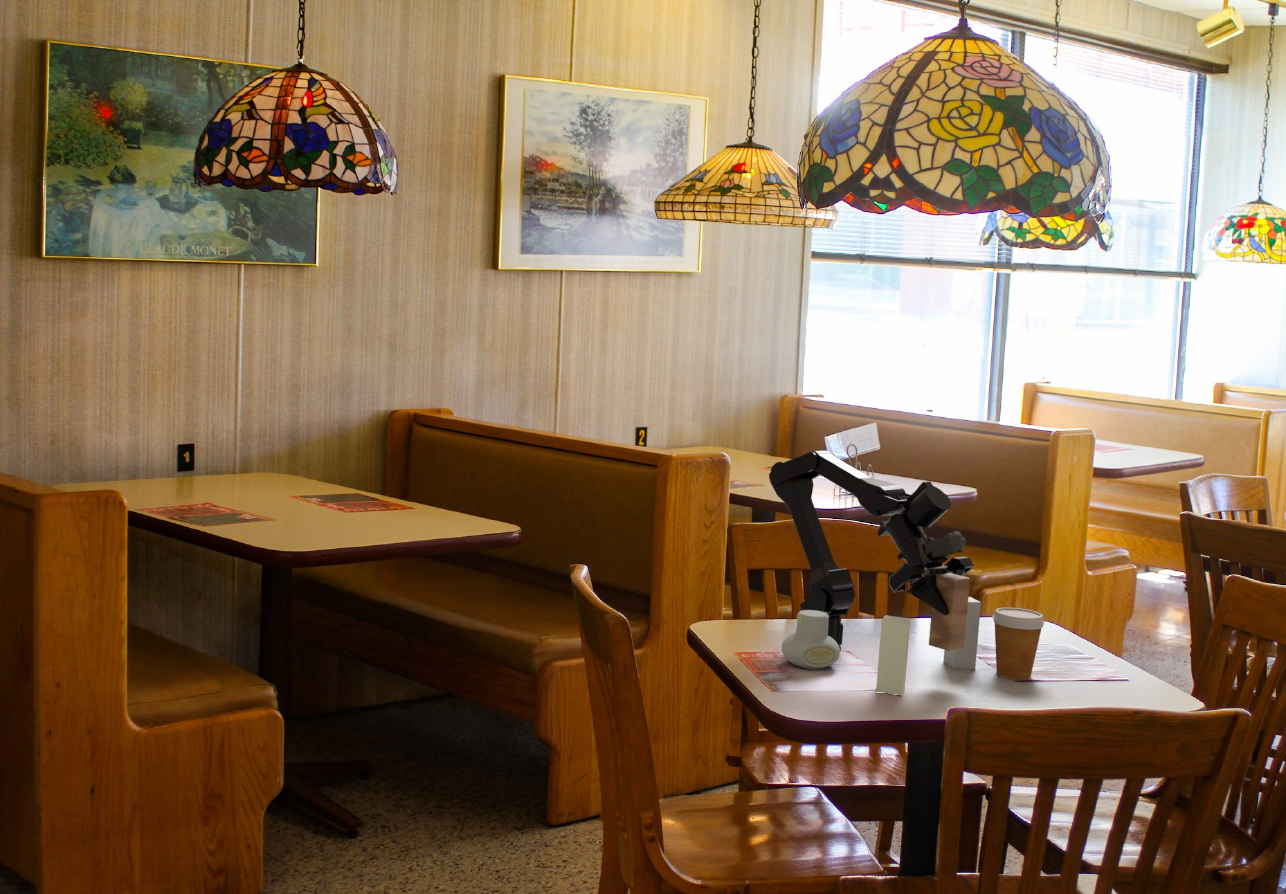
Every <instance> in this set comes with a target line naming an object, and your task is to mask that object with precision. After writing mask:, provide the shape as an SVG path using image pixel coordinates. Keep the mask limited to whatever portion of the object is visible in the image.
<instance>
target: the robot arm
mask: <svg viewBox="0 0 1286 894" xmlns="http://www.w3.org/2000/svg"><path fill="white" fill-rule="evenodd" d="M819 476H822V478H825V479H827V480H828V481H830V482H832V483H834V485H837V486H838V487H840V488H842V489H843V490H844V491H846V492H849V494H852V495H853V496H854V497H855V498H856V499H857V501H858V503H859V505H860V506H861V507H862V508H863V509H864V510H865V511H867V512H868V514H870V515H871V516H874V517H887V516H891V517H890V518H888V520H885V521H884V520H883V521H879V528H877V529H878V530H877V536H878V537H885V536H889V537H890V538H891V540H892V541H893V543H894V545H895V546H896V548H897V550H898V551H899V552H900V553H899V554H898V555H897V556H896V557H897V558H898V561H905V563H903V564H902V565H901V566H900V567H899V568H898V569H896V571H895V572H893V573H892V574H891V575H890V576H889V577H888V586H889V587H890V589H891V590H892V592H893V593H900V592H901V593H902V592H904V591H905V589H906V585H905V584H906V583H907V582H909V586H910V588H909V589H908V590H907V591H906V593H907V594H908V595H911V596H913V597H915V598H917V599H919V600H920V601H922V602H923V603H925V604H926V605H928V606H930V607H931V608H932V607H933V608H934V609H936V610H937V611H939V612H940V613H942V614H943V615H947V614H949V609H948V607H947V605H946V603H945V601H944V599H943V597H942V595H941V593H940V591H939V589H938V588H937V585H936V575H939V574H947V573H952V574H956V575H960V576H964V577H965V576H966V575H967V574H969V572H971V570H973V569H974V568H975V565H974V563H973V562H972V560H971V558H970V557H968V556H957V557H956V556H955V557H952V558H949V556H950V555H953V554H957V553H963V552H965V549H964V548H965V547H966V545H967V539H966V538H965V537H964V536H963V534H962V532H960V531H952V532H949V533H947V535H945V536H941V537H939V538H935V537H933V536H929V537H927V535H926V533H925V532H924V530H923V528H925V529H926V528H931V526H932V525H934V524H935V523H936V522H937V521H938V520H939V519H940V518H941V517H943V515H945V514H946V513H947V512H948V511H950V509H951V507H952V502H951V499H950V498H949V496H948V494H946V493H945V492H944V491H943V490H942V489H940V488H938V487H937V486H934V485H933V483H932V482H931V481H923V482H921V483H920V484H919V485H918V486H917V487H918V488H917V489H916V490H915V491H914V492H912V493H907V492H906V491H905V489H904V488H903V487H902V486H900V485H898V484H895V483H892V482H889V481H885V480H880V479H877V478H873V477H870V476H868V475H867V474H865V473H863V472H862V471H860V470H858V469H856V468H854V467H853V466H851V465H850V464H848V463H847V462H845V461H843V460H841V459H839V458H837V457H836V456H834V455H832V453H831V452H830V451H828V450H811V451H809V452H807V453H805V454H802V455H800V456H797V457H794V458H792V459H789V460H786V461H777V462H775V463H774V464H773V465H772V466H771V468H770V472H769V473H768V478H769V482H770V485H771V486H772V489H773V490H774V491H775V494H776V495H777V497H778V498H779V499H780V500H781V501H782V502H783V503H784V504H785V505H786V506H787V507H788V509H789V512H790V514H791V517H792V520H793V523H794V526H795V529H796V532H797V534H798V537H799V540H800V542H801V545H802V548H803V552H804V554H805V558H806V560H807V562H808V565H809V568H810V571H811V572H810V579H809V584H808V586H809V591H810V595H809V596H808V597H807V598H806V599H805V600H804V601H802V602H801V603H800V611H802V610H815V611H821V612H825V613H827V614H828V616H829V622H828V636H830V637H831V638H833V639H834V640H835V641H836V642H837V644H838V646H839V648H840V650H841V649H842V644H843V635H844V634H843V633H844V624H843V623H842V617H841V616H847V615H848V613H849V611H850V608H851V606H852V605H853V604H854V601H855V599H856V591H855V588H856V587H857V586H856V585H855V583H854V582H853V579H852V576H851V572H850V570H849V568H840V567H839V566H838V565H837V564H836V563H835V560H834V556H833V554H832V550H831V549H830V547H829V543H828V541H827V538H826V535H825V533H824V530H823V526H822V524H821V522H820V519H819V515H818V513H817V511H816V510H817V509H816V507H815V505H814V501H813V499H812V497H813V491H814V481H813V480H814V479H816V478H818V477H819ZM922 527H923V528H922ZM945 562H946V563H945ZM943 563H945V564H944V565H943Z"/></svg>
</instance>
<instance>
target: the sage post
mask: <svg viewBox="0 0 1286 894" xmlns="http://www.w3.org/2000/svg"><path fill="white" fill-rule="evenodd" d="M910 627H911V618H909V617H900V616H894V615H892V616H891V615H884V616H883V618H882V619H881V623H880V637H879V649H878V650H879V651H878V661H877V663H878V664H877V675H876V688H875V693H876V692H884V693H888V694H897V695H901V696H900V697H902V696H903V695H904V693H905V690H906V679H907V678H906V677H907V667H908V666H907V665H908V655H909V642H910V630H911V628H910ZM903 692H904V693H903ZM888 694H887V695H888ZM902 694H903V695H902Z"/></svg>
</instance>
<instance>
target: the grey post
mask: <svg viewBox="0 0 1286 894" xmlns="http://www.w3.org/2000/svg"><path fill="white" fill-rule="evenodd" d="M981 605H982V602H981V601H980V600H977V599H975V598H973V597H972V596H969V597H968V608H967V620H966V631H965V643H964V648H961V649H956V650H951V651H947V650H944V649H943V650H944V651H943V661H942V662H943V663H944V664H946V665H947V666H949V667H951V668H952V669H954V670H956V669H957V670H959V669H961V670H963V669H964V670H965V669H967V670H969V669H973V670H974V669H976V666H977V665H976V663H977V653H978V643H979V642H978V641H979V632H980V631H979V630H980V619H981V609H982V608H981V607H982V606H981Z"/></svg>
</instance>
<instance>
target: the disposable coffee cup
mask: <svg viewBox="0 0 1286 894" xmlns="http://www.w3.org/2000/svg"><path fill="white" fill-rule="evenodd" d="M994 611H995V612H994V614H992V616H991V617H992V619H993V622H994V643H995V665H996V667H995V669H996V671H995V672H996V674H998V676H1001V677H1003V678H1007V679H1013V680H1028V679H1030V678H1031V676H1032V673H1033V669H1034V668H1033V667H1034V664H1035V660H1036V655H1037V650H1038V647H1039V641H1040V636H1041V632H1042V628H1044V625H1045V623H1046V622H1045V620H1044V616H1043V614H1042V613H1040V612H1038V611H1034V610H1032V609H1027V608H1018V607H999V608H996V609H995V610H994Z"/></svg>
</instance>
